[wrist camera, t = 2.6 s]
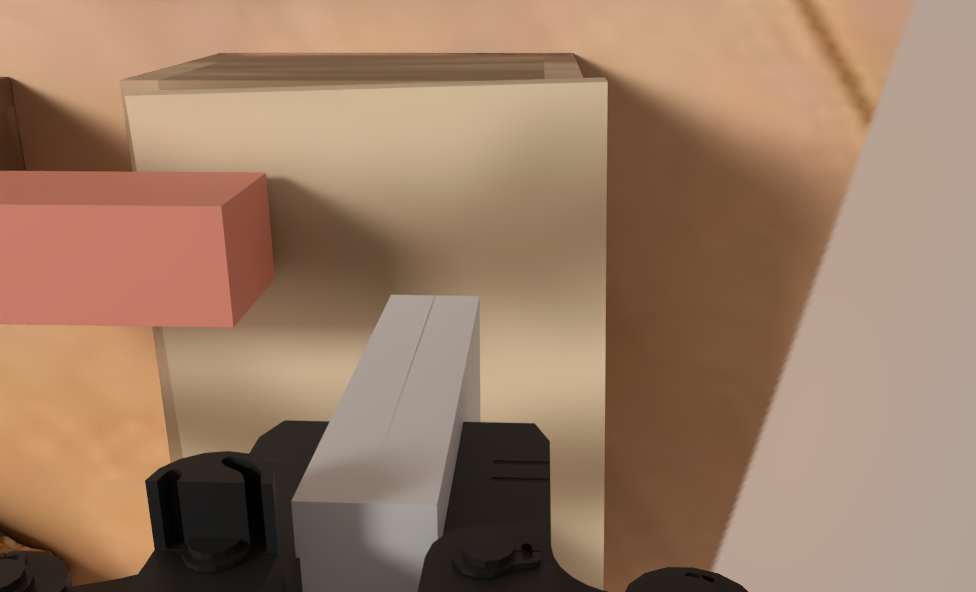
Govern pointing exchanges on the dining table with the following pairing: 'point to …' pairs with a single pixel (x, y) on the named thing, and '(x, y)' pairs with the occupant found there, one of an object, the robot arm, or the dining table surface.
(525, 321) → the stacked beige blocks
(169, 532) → the robot arm
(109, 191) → the red block
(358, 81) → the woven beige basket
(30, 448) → the dining table surface
